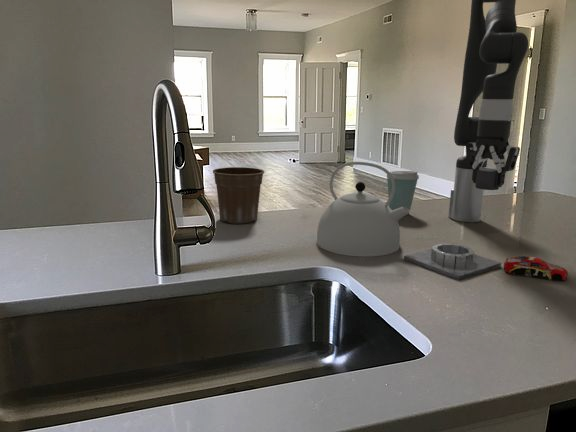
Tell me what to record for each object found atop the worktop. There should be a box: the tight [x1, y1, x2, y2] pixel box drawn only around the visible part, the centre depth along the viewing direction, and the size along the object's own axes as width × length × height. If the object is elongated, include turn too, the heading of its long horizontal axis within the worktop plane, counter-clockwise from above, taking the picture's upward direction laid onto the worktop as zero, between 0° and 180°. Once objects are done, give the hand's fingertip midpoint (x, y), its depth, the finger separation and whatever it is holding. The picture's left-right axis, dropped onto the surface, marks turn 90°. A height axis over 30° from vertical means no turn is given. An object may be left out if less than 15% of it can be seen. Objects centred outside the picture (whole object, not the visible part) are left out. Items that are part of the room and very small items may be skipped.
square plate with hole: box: [403, 243, 502, 281], centre depth 114 cm, size 16×16×4 cm
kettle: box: [315, 161, 411, 257], centre depth 127 cm, size 25×23×22 cm
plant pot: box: [212, 166, 265, 225], centre depth 151 cm, size 16×16×16 cm
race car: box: [503, 255, 569, 282], centre depth 108 cm, size 13×5×4 cm, turn 66°
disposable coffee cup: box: [386, 170, 420, 216], centre depth 161 cm, size 11×11×15 cm
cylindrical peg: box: [475, 166, 500, 191], centre depth 121 cm, size 6×6×5 cm
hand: (487, 184), depth 121 cm, fingers closed on cylindrical peg, 5 cm apart
